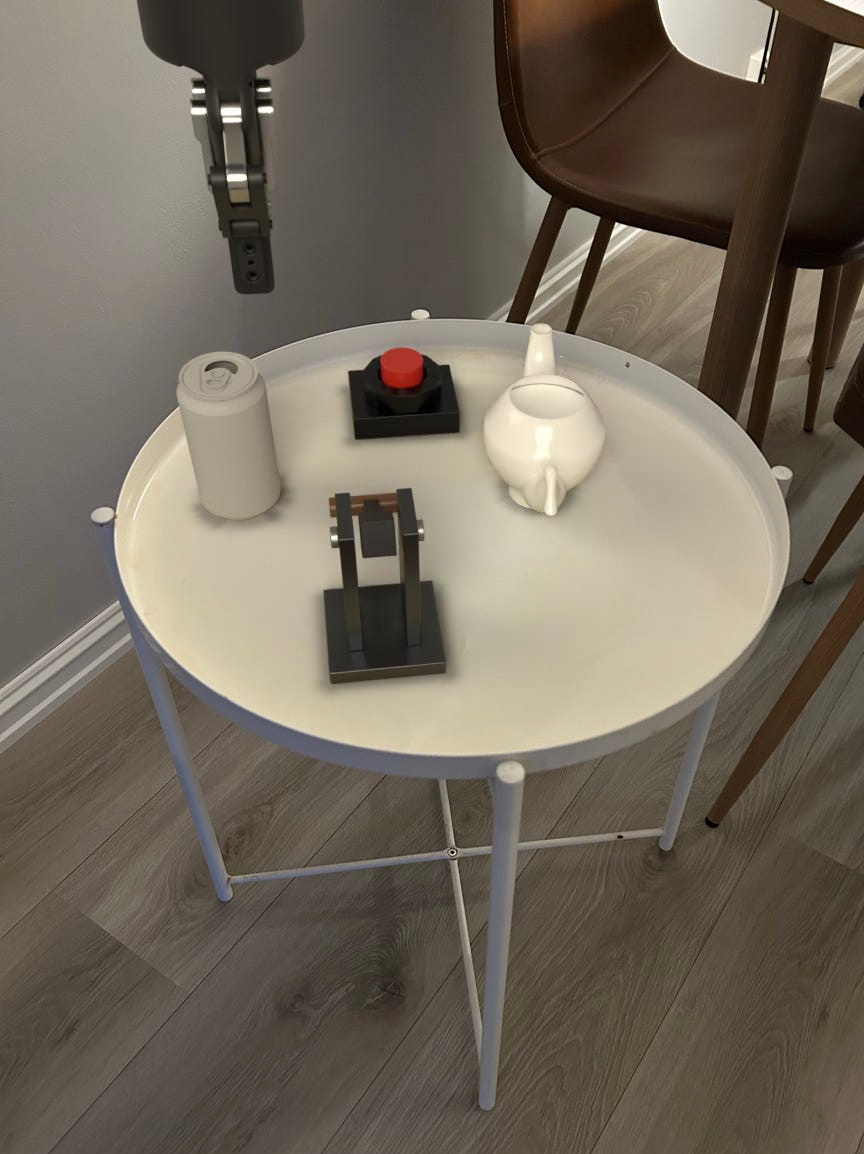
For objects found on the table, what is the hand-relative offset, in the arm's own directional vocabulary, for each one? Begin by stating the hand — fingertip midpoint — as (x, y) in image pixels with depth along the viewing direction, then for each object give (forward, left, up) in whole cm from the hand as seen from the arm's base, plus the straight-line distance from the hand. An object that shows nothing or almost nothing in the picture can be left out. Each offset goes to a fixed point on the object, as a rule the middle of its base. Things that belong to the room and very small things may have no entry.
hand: (255, 287), depth 60 cm
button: (+10, +21, -21) cm, 32 cm away
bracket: (+6, -5, -25) cm, 26 cm away
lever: (+6, -2, -18) cm, 19 cm away
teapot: (+20, +9, -25) cm, 33 cm away
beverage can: (-4, +11, -25) cm, 28 cm away
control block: (+10, +21, -25) cm, 34 cm away
